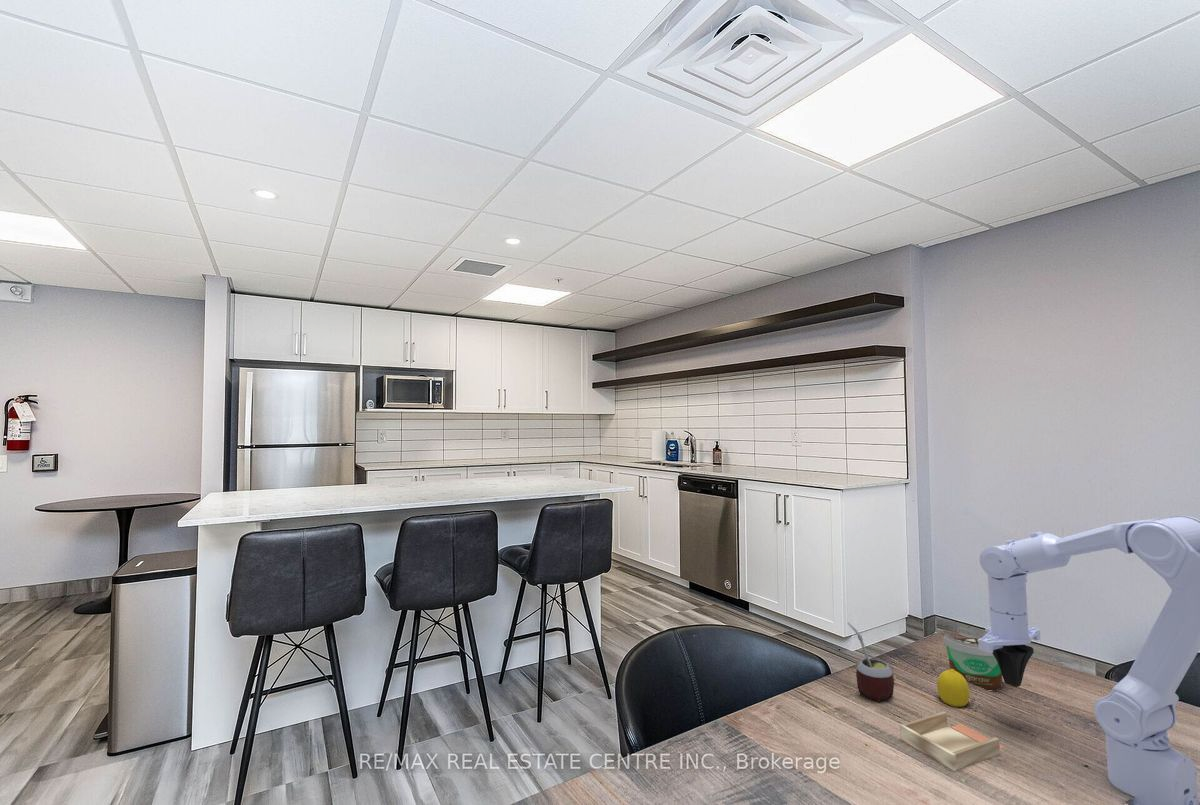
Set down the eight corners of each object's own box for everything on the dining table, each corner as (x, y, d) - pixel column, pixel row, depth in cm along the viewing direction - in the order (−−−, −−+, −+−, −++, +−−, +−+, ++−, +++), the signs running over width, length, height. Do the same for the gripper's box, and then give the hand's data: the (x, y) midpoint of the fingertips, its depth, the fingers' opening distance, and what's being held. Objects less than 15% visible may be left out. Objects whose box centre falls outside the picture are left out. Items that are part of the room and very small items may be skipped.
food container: (953, 690, 119) (950, 643, 119) (944, 677, 125) (941, 633, 125) (1019, 696, 115) (1017, 648, 116) (1007, 683, 121) (1004, 637, 122)
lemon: (975, 717, 108) (973, 676, 108) (944, 715, 109) (942, 674, 109) (963, 703, 113) (961, 664, 114) (933, 701, 115) (931, 662, 115)
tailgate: (995, 750, 95) (1017, 742, 97) (950, 727, 102) (972, 720, 105) (995, 756, 95) (1017, 748, 97) (950, 732, 102) (972, 725, 104)
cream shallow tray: (1000, 762, 94) (999, 738, 94) (954, 780, 90) (953, 755, 90) (944, 732, 103) (943, 711, 103) (900, 747, 99) (899, 725, 99)
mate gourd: (898, 712, 111) (895, 637, 111) (856, 708, 113) (852, 634, 113) (890, 695, 118) (886, 624, 118) (850, 691, 120) (847, 621, 120)
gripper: (1010, 598, 109) (1014, 668, 108) (960, 609, 103) (964, 682, 103) (1050, 609, 102) (1055, 683, 102) (999, 621, 97) (1004, 699, 96)
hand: (1012, 684), depth 102 cm, fingers closed
